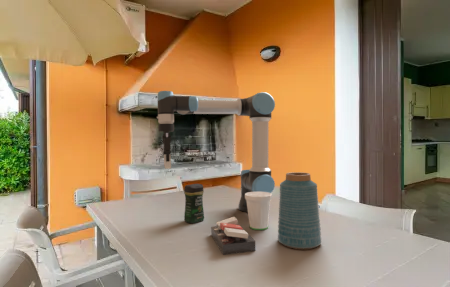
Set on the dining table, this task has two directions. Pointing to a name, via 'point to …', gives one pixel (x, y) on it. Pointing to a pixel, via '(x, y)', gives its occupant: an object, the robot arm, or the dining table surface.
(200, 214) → the coffee jar
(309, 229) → the vase
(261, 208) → the cup
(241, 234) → the rocker
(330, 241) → the dining table surface
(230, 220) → the rocker
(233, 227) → the rocker
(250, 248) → the rocker switch panel
